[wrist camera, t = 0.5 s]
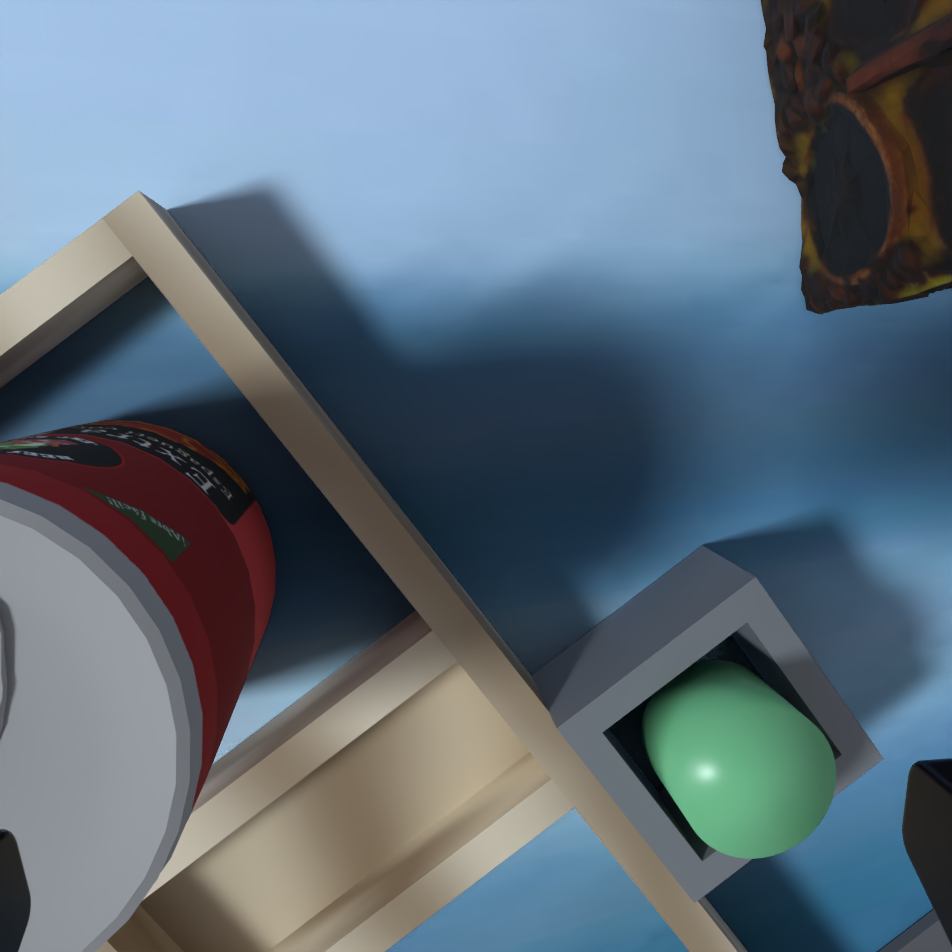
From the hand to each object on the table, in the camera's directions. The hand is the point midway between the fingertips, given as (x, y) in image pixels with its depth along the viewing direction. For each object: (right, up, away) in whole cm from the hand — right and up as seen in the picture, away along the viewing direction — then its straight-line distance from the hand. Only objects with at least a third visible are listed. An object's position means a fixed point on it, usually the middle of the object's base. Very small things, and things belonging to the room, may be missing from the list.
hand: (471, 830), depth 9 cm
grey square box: (+6, -3, +16) cm, 17 cm away
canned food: (-9, +1, +14) cm, 17 cm away
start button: (+6, -3, +14) cm, 15 cm away
